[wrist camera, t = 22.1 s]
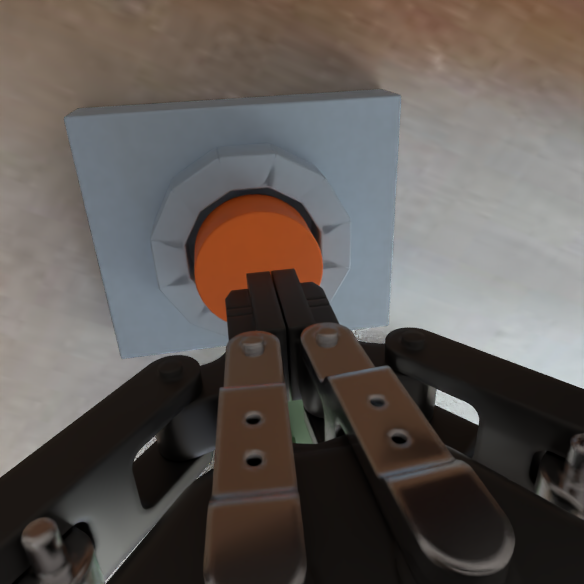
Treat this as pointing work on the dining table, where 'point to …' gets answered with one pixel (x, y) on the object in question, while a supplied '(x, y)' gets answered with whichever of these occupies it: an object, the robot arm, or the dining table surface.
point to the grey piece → (229, 184)
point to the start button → (251, 247)
